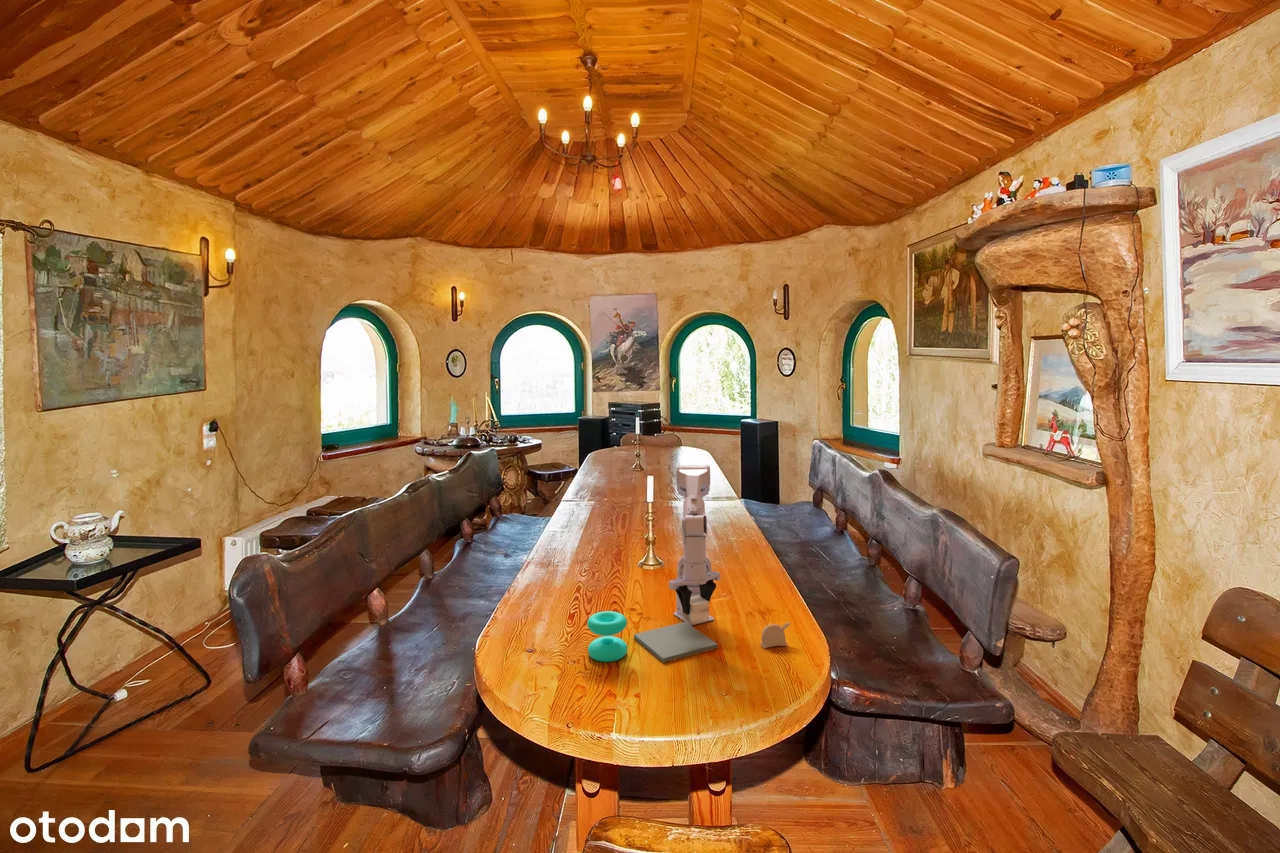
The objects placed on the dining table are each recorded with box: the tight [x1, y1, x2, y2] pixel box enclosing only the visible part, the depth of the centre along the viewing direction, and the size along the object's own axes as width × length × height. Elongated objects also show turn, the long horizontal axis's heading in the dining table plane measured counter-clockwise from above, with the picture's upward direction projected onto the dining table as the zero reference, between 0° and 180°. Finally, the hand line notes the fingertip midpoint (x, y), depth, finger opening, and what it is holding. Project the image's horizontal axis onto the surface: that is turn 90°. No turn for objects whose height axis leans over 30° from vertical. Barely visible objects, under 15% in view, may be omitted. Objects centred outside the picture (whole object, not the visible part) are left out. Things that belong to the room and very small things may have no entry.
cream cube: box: [682, 595, 710, 625], centre depth 175 cm, size 5×5×5 cm
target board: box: [633, 621, 719, 664], centre depth 177 cm, size 16×16×1 cm
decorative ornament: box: [760, 621, 791, 650], centre depth 175 cm, size 4×8×5 cm, turn 99°
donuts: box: [586, 610, 628, 663], centre depth 171 cm, size 10×10×10 cm
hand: (695, 611), depth 175 cm, fingers closed on cream cube, 5 cm apart
